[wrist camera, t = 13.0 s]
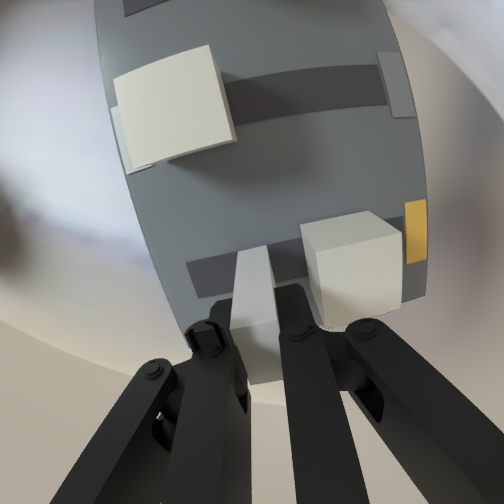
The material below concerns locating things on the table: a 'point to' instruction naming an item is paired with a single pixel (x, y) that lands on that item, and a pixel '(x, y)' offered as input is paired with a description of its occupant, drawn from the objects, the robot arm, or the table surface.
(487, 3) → the table surface
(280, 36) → the switch panel
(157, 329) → the table surface
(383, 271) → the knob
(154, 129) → the knob mid
